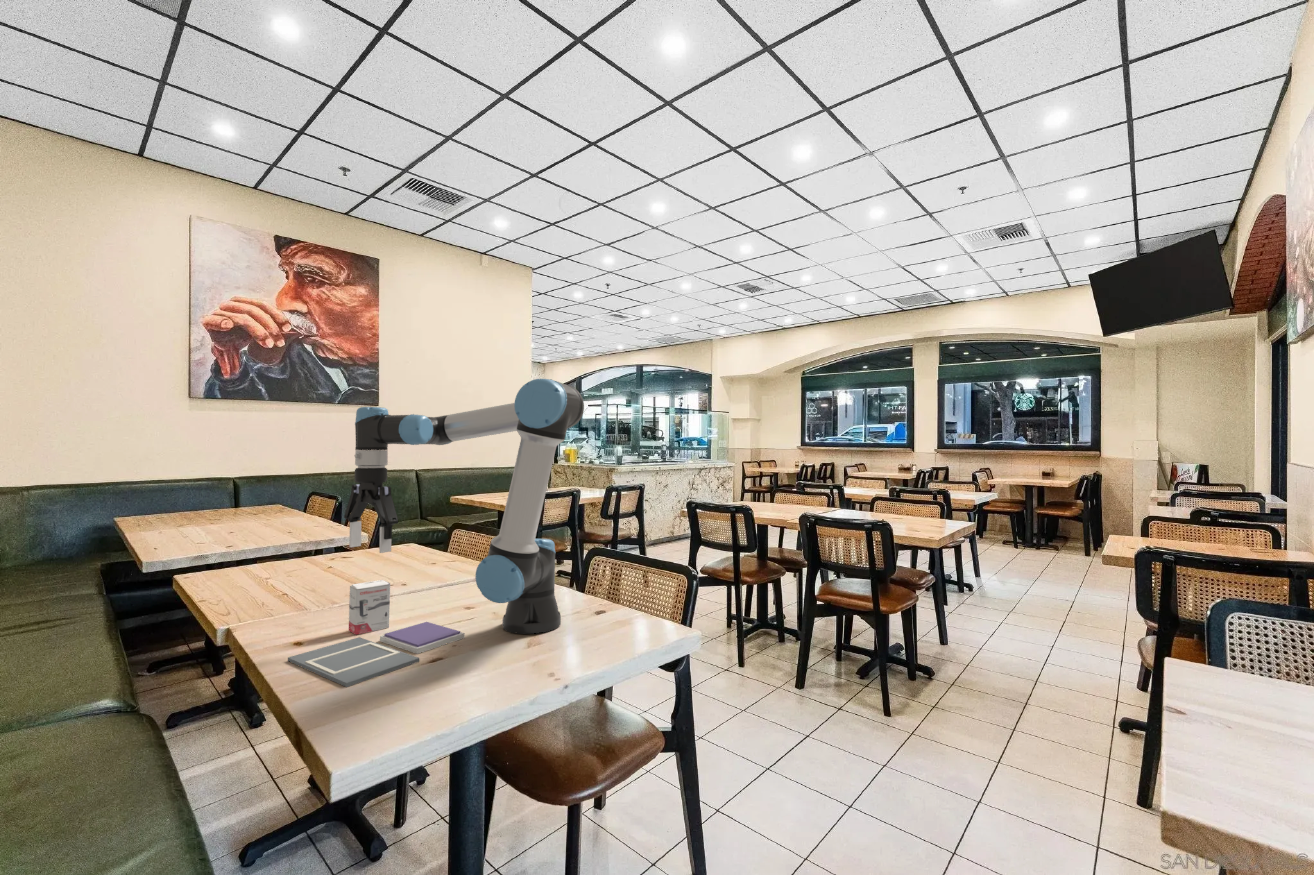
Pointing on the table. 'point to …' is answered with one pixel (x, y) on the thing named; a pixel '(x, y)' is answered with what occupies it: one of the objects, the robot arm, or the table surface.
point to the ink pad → (421, 637)
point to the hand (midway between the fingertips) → (369, 549)
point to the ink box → (369, 606)
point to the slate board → (353, 661)
